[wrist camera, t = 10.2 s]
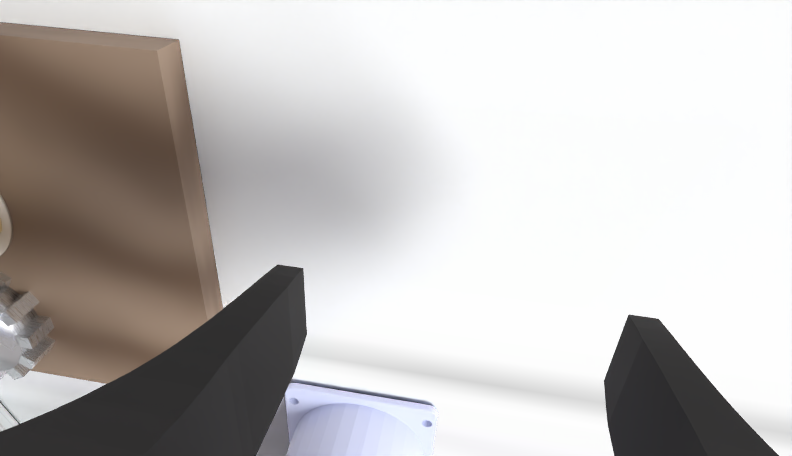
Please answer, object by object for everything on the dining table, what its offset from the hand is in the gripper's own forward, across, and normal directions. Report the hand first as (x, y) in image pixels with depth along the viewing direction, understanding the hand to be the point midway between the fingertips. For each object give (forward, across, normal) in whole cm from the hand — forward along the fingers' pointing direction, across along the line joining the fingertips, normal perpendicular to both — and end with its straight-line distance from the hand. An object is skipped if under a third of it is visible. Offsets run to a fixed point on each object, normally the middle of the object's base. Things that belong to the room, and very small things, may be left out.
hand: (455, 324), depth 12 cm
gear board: (+9, +19, +6) cm, 22 cm away
